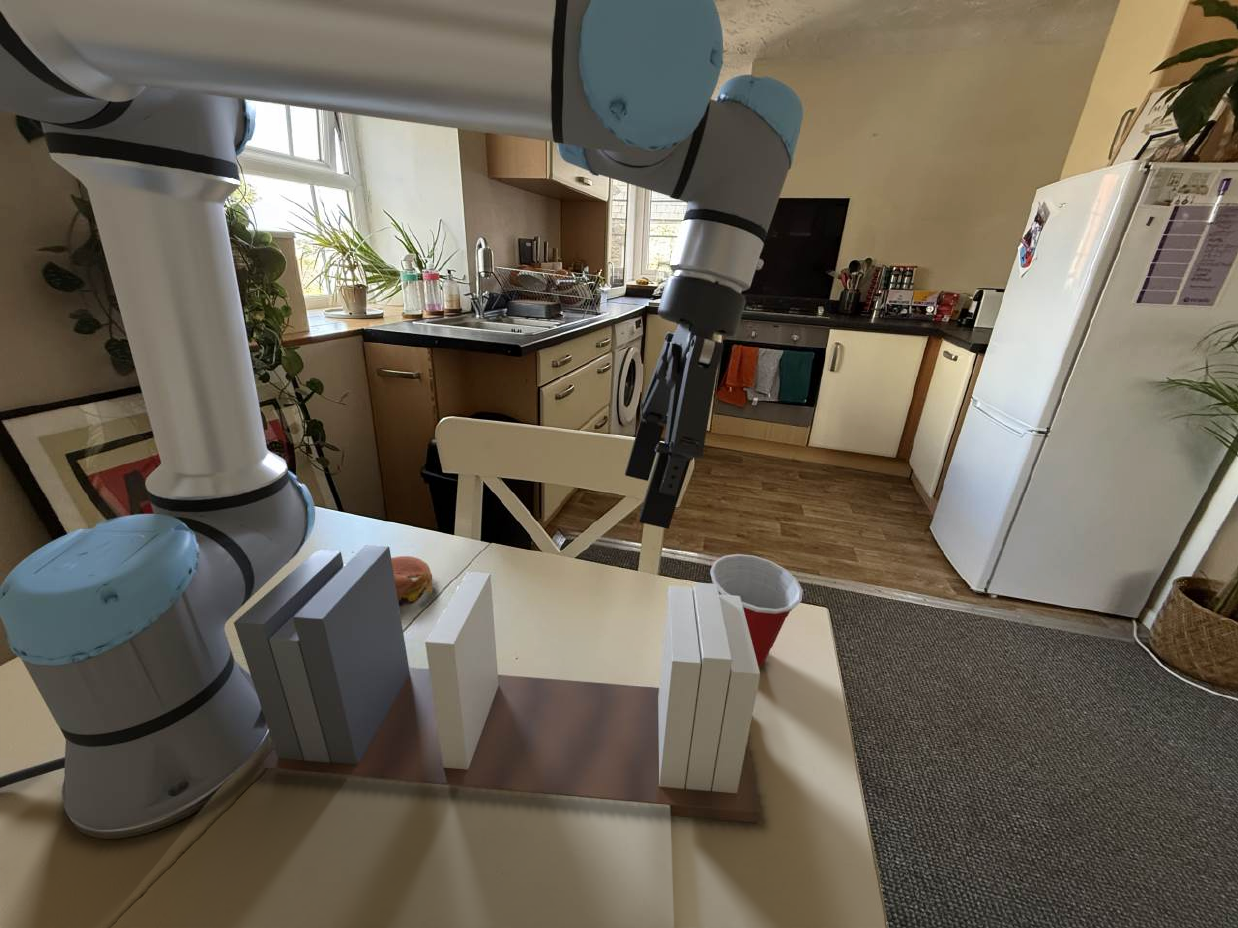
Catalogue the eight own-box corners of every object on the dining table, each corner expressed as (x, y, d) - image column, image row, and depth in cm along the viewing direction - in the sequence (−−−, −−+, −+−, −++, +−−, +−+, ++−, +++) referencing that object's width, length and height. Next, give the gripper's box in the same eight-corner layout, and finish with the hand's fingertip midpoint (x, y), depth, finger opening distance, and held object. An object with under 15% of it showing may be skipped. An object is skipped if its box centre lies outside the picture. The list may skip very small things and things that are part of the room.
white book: (442, 767, 46) (424, 642, 41) (477, 683, 56) (467, 571, 50) (468, 769, 46) (453, 644, 40) (498, 684, 55) (490, 572, 50)
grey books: (277, 758, 47) (229, 612, 40) (344, 668, 57) (315, 541, 50) (357, 765, 46) (322, 619, 40) (410, 674, 56) (389, 546, 50)
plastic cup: (791, 697, 57) (811, 614, 53) (697, 680, 59) (708, 598, 54) (782, 633, 67) (798, 558, 62) (701, 620, 69) (711, 546, 64)
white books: (659, 786, 45) (672, 655, 39) (658, 697, 55) (669, 580, 49) (737, 793, 45) (762, 662, 39) (722, 702, 54) (741, 585, 48)
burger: (386, 572, 76) (381, 546, 75) (444, 577, 76) (441, 551, 74) (347, 614, 67) (341, 586, 65) (413, 621, 67) (409, 592, 65)
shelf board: (261, 778, 46) (257, 767, 46) (342, 671, 58) (340, 661, 58) (758, 823, 44) (760, 812, 44) (735, 703, 56) (737, 693, 56)
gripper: (805, 286, 34) (709, 562, 39) (711, 301, 58) (659, 470, 63) (701, 254, 33) (617, 542, 38) (649, 282, 56) (602, 456, 62)
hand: (643, 498), depth 50 cm, fingers open, 13 cm apart
